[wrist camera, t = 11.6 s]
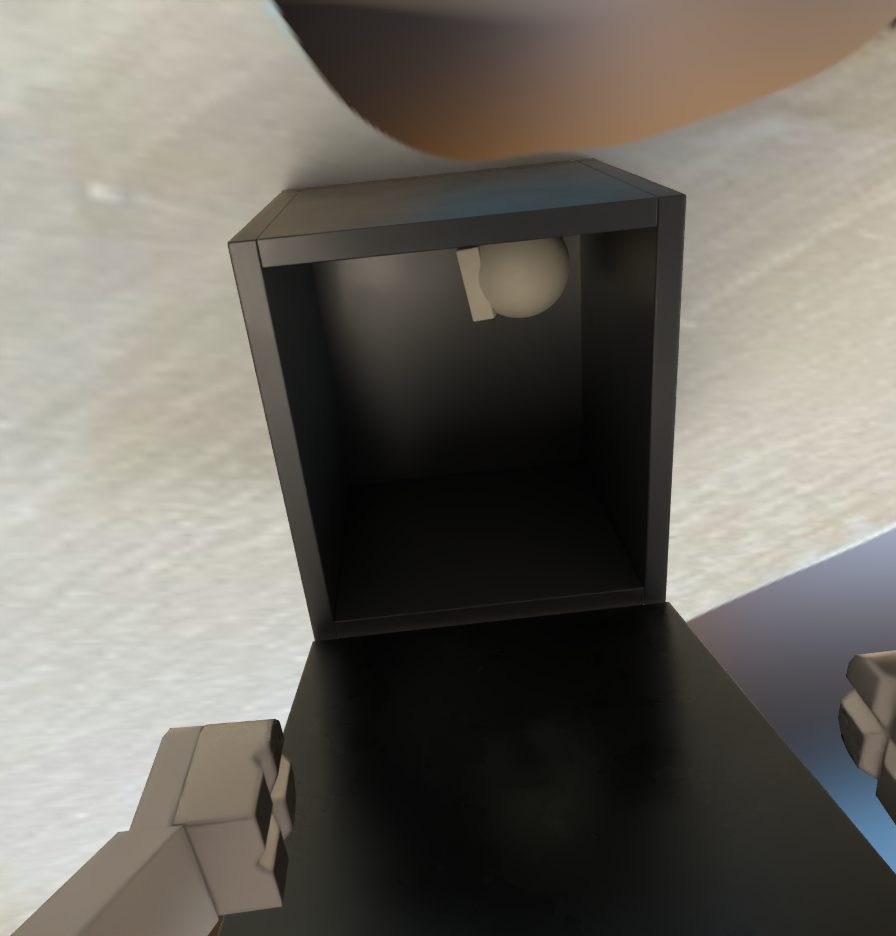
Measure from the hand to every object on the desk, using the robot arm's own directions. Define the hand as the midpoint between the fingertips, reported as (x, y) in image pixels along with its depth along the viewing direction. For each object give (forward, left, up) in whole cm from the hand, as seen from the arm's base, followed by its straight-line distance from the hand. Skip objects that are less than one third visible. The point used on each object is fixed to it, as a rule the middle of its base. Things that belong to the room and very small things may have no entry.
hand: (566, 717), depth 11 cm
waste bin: (+3, +2, -29) cm, 29 cm away
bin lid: (+7, +5, -8) cm, 12 cm away
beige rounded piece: (-1, +1, -26) cm, 26 cm away
